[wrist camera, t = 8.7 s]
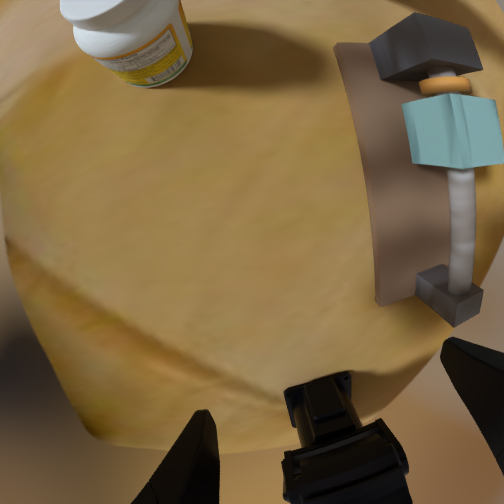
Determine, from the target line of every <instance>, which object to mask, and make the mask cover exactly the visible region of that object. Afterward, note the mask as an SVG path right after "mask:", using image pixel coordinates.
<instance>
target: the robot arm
mask: <svg viewBox="0 0 504 504" xmlns="http://www.w3.org/2000/svg"><path fill="white" fill-rule="evenodd" d="M440 359H441V362H442V364H443V366H444V368H445V370H446V372H447V374H448V376H449V378H450V379H451V382H452V383H453V386H454V387H455V389H456V391H457V392H458V394H459V396H460V397H461V399H462V401H463V402H464V404H465V405H466V407H467V409H468V410H469V412H470V414H471V415H472V417H473V419H474V420H475V422H476V424H477V425H478V427H479V429H480V431H481V433H482V434H483V436H484V438H485V440H486V442H487V443H488V445H489V447H490V449H491V451H492V453H493V455H494V457H495V458H496V461H497V463H498V465H499V467H500V469H501V471H502V473H503V475H504V353H502V352H499V351H496V350H493V349H490V348H487V347H484V346H480V345H477V344H474V343H471V342H468V341H465V340H462V339H459V338H455V337H450V338H448V339H446V340H445V341H444V342H443V346H442V350H441V355H440ZM288 393H289V394H288ZM284 397H285V401H286V405H287V408H288V412H289V416H290V420H291V424H292V427H294V428H297V431H298V435H299V439H300V443H301V447H302V448H300V449H296V450H293V451H290V450H289V451H285V452H284V456H285V459H283V461H282V462H281V464H282V469H283V475H284V481H283V498H284V500H285V501H287V502H289V503H291V504H412V499H411V496H410V493H409V490H408V486H407V482H406V478H405V475H407V474H408V473H409V465H408V461H407V457H406V454H405V452H404V450H403V448H402V446H401V444H400V443H399V441H398V440H397V439H396V437H395V436H394V435H393V433H392V432H391V431H390V429H389V428H388V427H387V425H386V424H385V422H384V421H383V420H382V419H381V418H379V419H377V420H375V422H373V423H370V424H368V425H366V426H363V425H362V423H361V421H360V419H359V417H358V415H357V412H356V410H355V408H354V406H353V404H352V402H351V375H350V373H349V372H343V373H340V374H337V375H334V376H331V377H328V378H324V379H321V380H318V381H314V382H311V383H307V384H304V385H300V386H296V387H292V388H288V389H286V390H285V391H284ZM219 483H220V459H219V449H218V440H217V430H216V424H215V422H214V420H213V418H212V416H211V414H210V412H209V411H208V410H207V409H204V410H197V411H196V412H195V413H194V414H193V416H192V417H191V419H190V420H189V422H188V424H187V425H186V427H185V428H184V430H183V431H182V433H181V434H180V436H179V437H178V439H177V440H176V442H175V443H174V445H173V446H172V448H171V449H170V450H169V452H168V453H167V455H166V456H165V458H164V459H163V461H162V462H161V464H160V465H159V467H158V468H157V469H156V471H155V472H154V474H153V475H152V477H151V478H150V479H149V482H147V483H146V485H145V486H144V488H143V489H142V490H141V492H140V493H139V494H138V495H137V497H136V498H135V499H134V501H133V502H132V503H131V504H219V487H220V484H219Z"/></svg>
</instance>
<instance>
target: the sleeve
mask: <svg viewBox="0 0 504 504" xmlns="http://www.w3.org/2000/svg"><path fill="white" fill-rule="evenodd" d="M401 105H402V110H403V114H404V118H405V123H406V128H407V133H408V139H409V144H410V150H411V156H412V163H415V164H426V165H435V166H444V167H452V168H459V169H465V168H472V167H479V166H487V165H495V164H503V163H504V150H503V142H502V135H501V128H500V122H499V117H498V112H497V107H496V102H495V100H493V99H487V98H481V97H474V96H467V95H459V94H444V95H439V96H434V97H429V98H425V99H420V100H416V101H412V102H407V103H403V104H401Z"/></svg>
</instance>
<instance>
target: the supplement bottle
mask: <svg viewBox="0 0 504 504" xmlns="http://www.w3.org/2000/svg"><path fill="white" fill-rule="evenodd" d="M60 11H61V13H62V15H63V16H64V17H65V18H66V19H67V20H68V21H69V22H71V23H72V24H73V25H74V27H73V32H74V37H75V40H76V42H77V44H78V46H79V47H80V48H81V49H82V50H83V51H84V52H85V53H87V54H88V55H90V56H91V57H92V58H94V59H95V60H97V61H98V62H100V63H101V64H102V65H104V66H105V67H107V68H108V69H109V70H111V71H112V72H114V73H115V74H116V75H118V76H119V77H120V78H122V79H123V80H124V81H126V82H127V83H129V84H131V85H133V86H136V87H143V88H150V87H156V86H160V85H162V84H165V83H167V82H169V81H171V80H172V79H174V78H175V77H177V76H178V75H179V74H180V73H181V72H182V71H183V70H184V69H185V67H186V66H187V65H188V63H189V61H190V59H191V56H192V51H193V43H192V38H191V35H190V31H189V28H188V25H187V22H186V18H185V15H184V11H183V8H182V4H181V1H180V0H61V1H60Z"/></svg>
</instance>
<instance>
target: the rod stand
mask: <svg viewBox="0 0 504 504" xmlns="http://www.w3.org/2000/svg"><path fill="white" fill-rule="evenodd" d="M333 49H334V52H335V55H336V58H337V62H338V65H339V68H340V71H341V75H342V78H343V81H344V85H345V89H346V92H347V96H348V100H349V104H350V108H351V112H352V116H353V120H354V124H355V129H356V134H357V138H358V143H359V148H360V153H361V159H362V164H363V170H364V176H365V182H366V189H367V196H368V204H369V212H370V220H371V230H372V240H373V253H374V268H375V292H376V303H377V304H378V305H379V306H380V307H384V306H387V305H389V304H392V303H395V302H397V301H400V300H403V299H405V298H408V297H411V296H413V295H416V296H417V297H419V298H420V299H421V300H422V301H423V302H425V303H426V304H427V305H428V306H429V307H431V308H432V309H433V310H434V311H435V312H436V313H438V314H439V315H440V316H441V317H442V318H443V319H444V320H446V321H447V322H448V323H449V324H450V325H451V326H452V327H456V326H457V325H459V324H461V323H463V322H465V321H466V320H468V319H470V318H472V317H473V316H475V315H477V314H479V312H480V307H481V302H482V297H483V289H481V288H480V287H478V286H476V285H475V284H473V283H472V276H473V266H474V255H475V238H476V192H475V175H474V167H472V168H465V169H459V168H452V167H444V166H435V165H426V164H415V163H412V156H411V150H410V144H409V139H408V133H407V128H406V123H405V118H404V114H403V110H402V105H401V104H403V103H407V102H412V101H416V100H420V99H425V98H429V97H434V96H439V95H444V94H459V95H468V94H471V93H472V90H471V86H470V82H469V79H467V78H463V77H457V76H458V75H462V74H466V73H471V72H476V71H480V70H483V67H482V64H481V61H480V58H479V55H478V52H477V50H476V47H475V44H474V42H473V39H472V37H471V34H470V32H469V29H468V28H465V27H462V26H459V25H457V24H454V23H451V22H448V21H444V20H441V19H438V18H434V17H431V16H427V15H423V14H419V13H415V12H414V13H413V14H411V15H410V16H408V17H407V18H405V19H403V20H402V21H400V22H399V23H397V24H396V25H394V26H393V27H391V28H390V29H388V30H387V31H386V32H384V33H383V34H381V35H380V36H378V37H377V38H376V39H374V40H373V41H371V42H370V43H337V44H336V45H335V46H334V47H333Z"/></svg>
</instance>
